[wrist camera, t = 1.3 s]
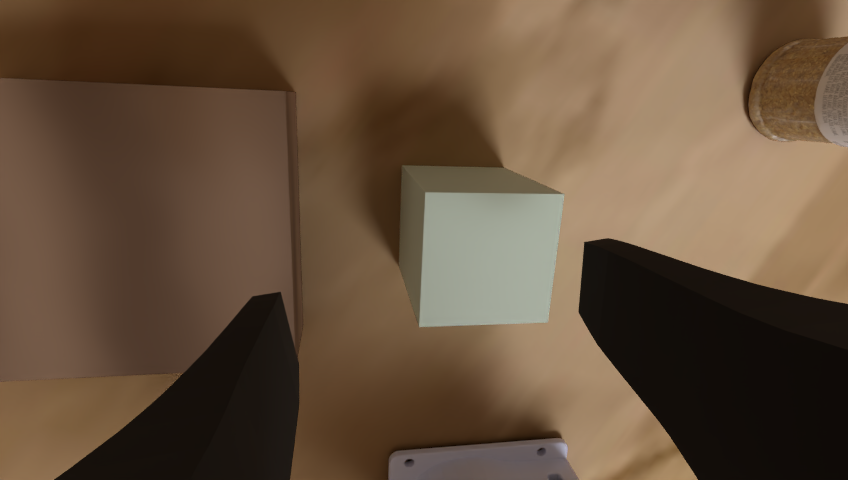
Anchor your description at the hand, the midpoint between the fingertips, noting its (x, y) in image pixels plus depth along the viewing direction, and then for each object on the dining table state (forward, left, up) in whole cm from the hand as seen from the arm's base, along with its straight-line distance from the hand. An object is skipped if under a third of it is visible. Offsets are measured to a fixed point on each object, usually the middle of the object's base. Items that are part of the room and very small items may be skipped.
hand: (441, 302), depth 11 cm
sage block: (-2, 0, -10) cm, 10 cm away
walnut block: (+9, 0, -10) cm, 13 cm away
